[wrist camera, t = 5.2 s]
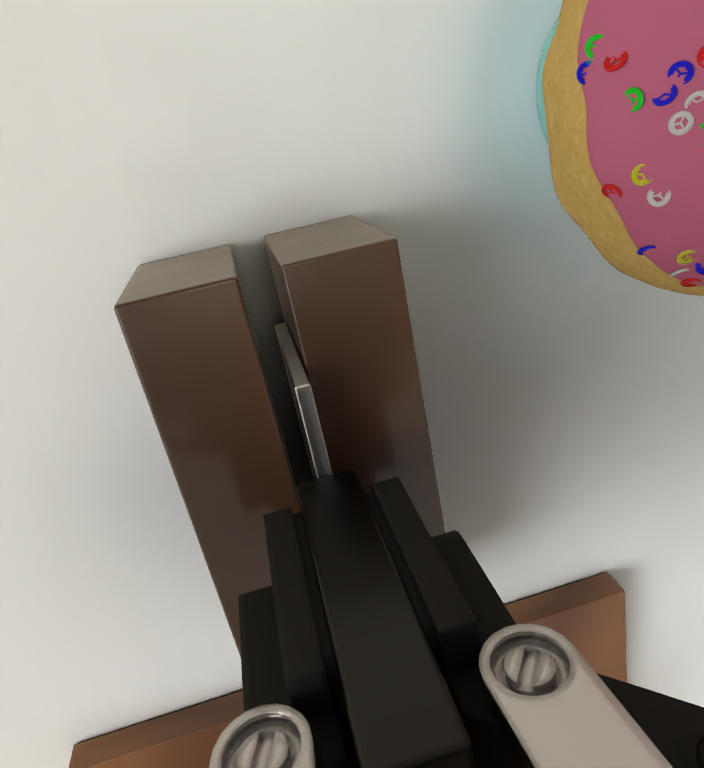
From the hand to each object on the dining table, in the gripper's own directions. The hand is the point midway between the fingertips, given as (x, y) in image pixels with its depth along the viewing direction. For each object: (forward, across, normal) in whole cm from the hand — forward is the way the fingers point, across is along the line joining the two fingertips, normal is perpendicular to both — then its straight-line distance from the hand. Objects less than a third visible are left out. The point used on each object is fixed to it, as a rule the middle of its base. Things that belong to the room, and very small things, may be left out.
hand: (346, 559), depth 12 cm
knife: (+5, 0, 0) cm, 5 cm away
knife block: (+5, 0, 0) cm, 5 cm away
